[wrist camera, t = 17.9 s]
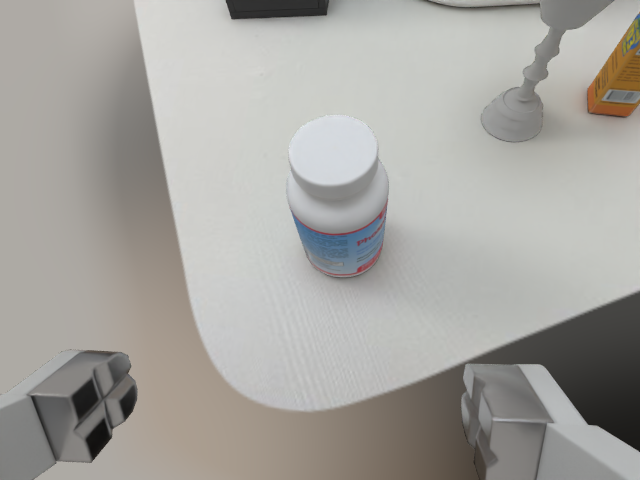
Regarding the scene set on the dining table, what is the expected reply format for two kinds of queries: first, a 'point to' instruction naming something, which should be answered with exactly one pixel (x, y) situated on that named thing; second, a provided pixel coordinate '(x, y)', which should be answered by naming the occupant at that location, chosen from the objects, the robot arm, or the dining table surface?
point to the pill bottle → (338, 194)
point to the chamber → (276, 8)
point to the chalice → (537, 72)
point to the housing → (484, 2)
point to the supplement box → (619, 78)
